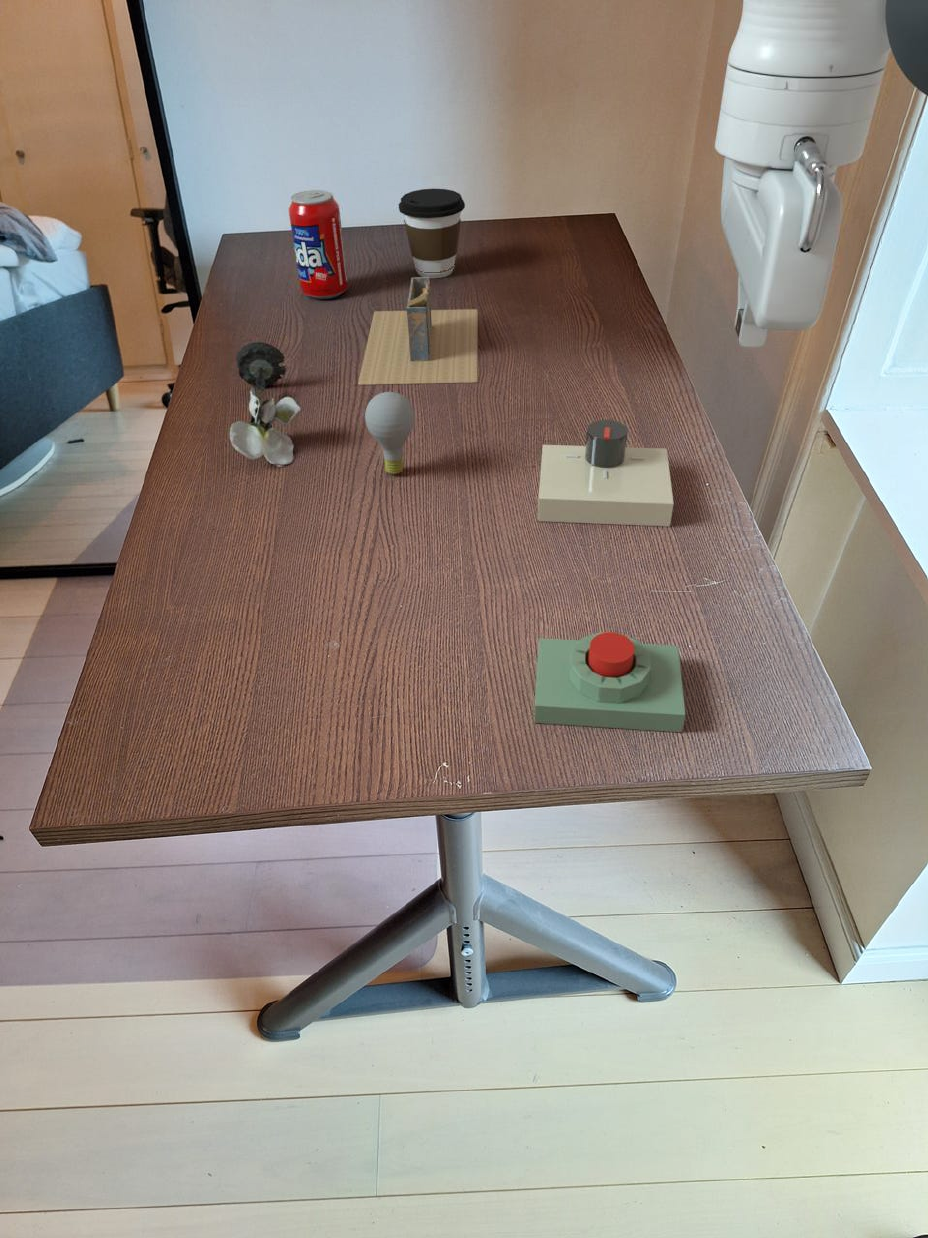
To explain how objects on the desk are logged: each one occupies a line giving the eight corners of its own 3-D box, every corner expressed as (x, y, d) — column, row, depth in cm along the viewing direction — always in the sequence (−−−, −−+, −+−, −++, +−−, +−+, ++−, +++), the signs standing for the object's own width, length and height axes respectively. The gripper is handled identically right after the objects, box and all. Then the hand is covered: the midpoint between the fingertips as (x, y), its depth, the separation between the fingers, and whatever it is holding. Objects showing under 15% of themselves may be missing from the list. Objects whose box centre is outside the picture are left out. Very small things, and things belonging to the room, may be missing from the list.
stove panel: (662, 462, 99) (666, 438, 97) (670, 527, 90) (674, 502, 88) (542, 458, 101) (543, 434, 99) (537, 521, 91) (538, 496, 89)
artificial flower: (300, 389, 118) (309, 324, 111) (289, 494, 104) (299, 428, 96) (235, 377, 116) (239, 310, 109) (214, 483, 101) (218, 414, 94)
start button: (631, 648, 71) (633, 633, 70) (633, 679, 69) (635, 664, 67) (588, 646, 72) (589, 630, 70) (588, 676, 69) (589, 661, 68)
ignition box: (674, 663, 75) (681, 630, 72) (681, 732, 69) (689, 699, 66) (538, 655, 76) (539, 622, 73) (534, 723, 70) (535, 690, 68)
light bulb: (423, 481, 98) (417, 401, 91) (377, 489, 97) (368, 409, 90) (412, 457, 102) (406, 379, 95) (367, 465, 101) (358, 387, 94)
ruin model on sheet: (477, 382, 116) (476, 311, 109) (357, 384, 116) (349, 314, 110) (477, 309, 134) (476, 245, 128) (374, 311, 135) (368, 247, 128)
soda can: (358, 291, 141) (347, 194, 131) (321, 305, 137) (306, 206, 127) (329, 280, 145) (317, 184, 135) (292, 293, 141) (276, 196, 131)
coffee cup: (431, 288, 141) (427, 211, 133) (390, 271, 147) (384, 197, 139) (479, 271, 146) (478, 196, 138) (438, 255, 152) (435, 183, 144)
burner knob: (585, 446, 97) (588, 415, 94) (625, 448, 96) (628, 418, 94) (583, 466, 94) (586, 436, 91) (624, 469, 93) (627, 438, 90)
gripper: (891, 166, 44) (823, 410, 53) (814, 85, 59) (771, 286, 68) (765, 166, 44) (719, 407, 54) (721, 86, 59) (691, 285, 69)
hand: (748, 338), depth 61 cm, fingers closed
